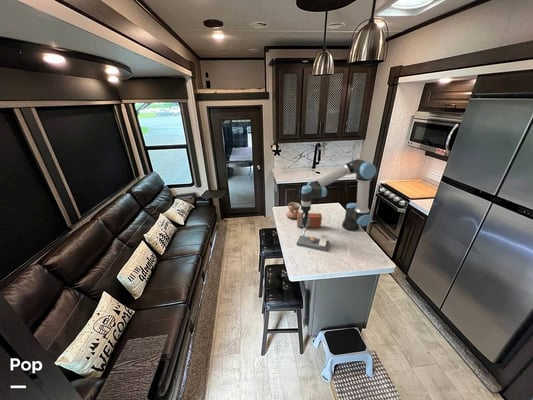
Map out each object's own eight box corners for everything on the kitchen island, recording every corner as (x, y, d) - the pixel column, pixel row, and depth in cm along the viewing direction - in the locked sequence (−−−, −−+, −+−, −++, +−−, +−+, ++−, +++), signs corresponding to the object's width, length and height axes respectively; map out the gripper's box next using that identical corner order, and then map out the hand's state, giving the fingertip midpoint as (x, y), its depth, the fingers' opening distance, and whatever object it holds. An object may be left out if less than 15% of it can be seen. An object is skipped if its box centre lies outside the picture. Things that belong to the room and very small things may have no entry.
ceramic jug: (285, 213, 230) (286, 201, 225) (299, 213, 230) (300, 201, 224) (287, 221, 214) (287, 208, 208) (301, 221, 213) (302, 208, 208)
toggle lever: (304, 238, 179) (306, 229, 179) (304, 239, 177) (305, 229, 177) (302, 238, 180) (303, 228, 180) (301, 238, 178) (303, 228, 178)
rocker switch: (327, 236, 175) (327, 235, 175) (325, 247, 168) (325, 246, 167) (321, 235, 177) (321, 234, 176) (318, 245, 169) (318, 244, 169)
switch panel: (328, 243, 178) (329, 239, 176) (326, 251, 168) (327, 247, 166) (300, 237, 186) (300, 233, 185) (296, 245, 176) (296, 240, 175)
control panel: (319, 224, 206) (321, 211, 198) (320, 229, 200) (322, 216, 192) (296, 223, 208) (297, 211, 200) (297, 228, 202) (298, 216, 194)
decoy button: (315, 239, 176) (316, 237, 176) (315, 241, 173) (315, 239, 172) (311, 238, 178) (311, 236, 177) (310, 240, 174) (310, 238, 174)
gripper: (303, 201, 177) (302, 226, 187) (299, 207, 167) (298, 233, 176) (312, 202, 174) (310, 227, 184) (308, 209, 164) (307, 235, 173)
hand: (304, 230), depth 180 cm, fingers closed
